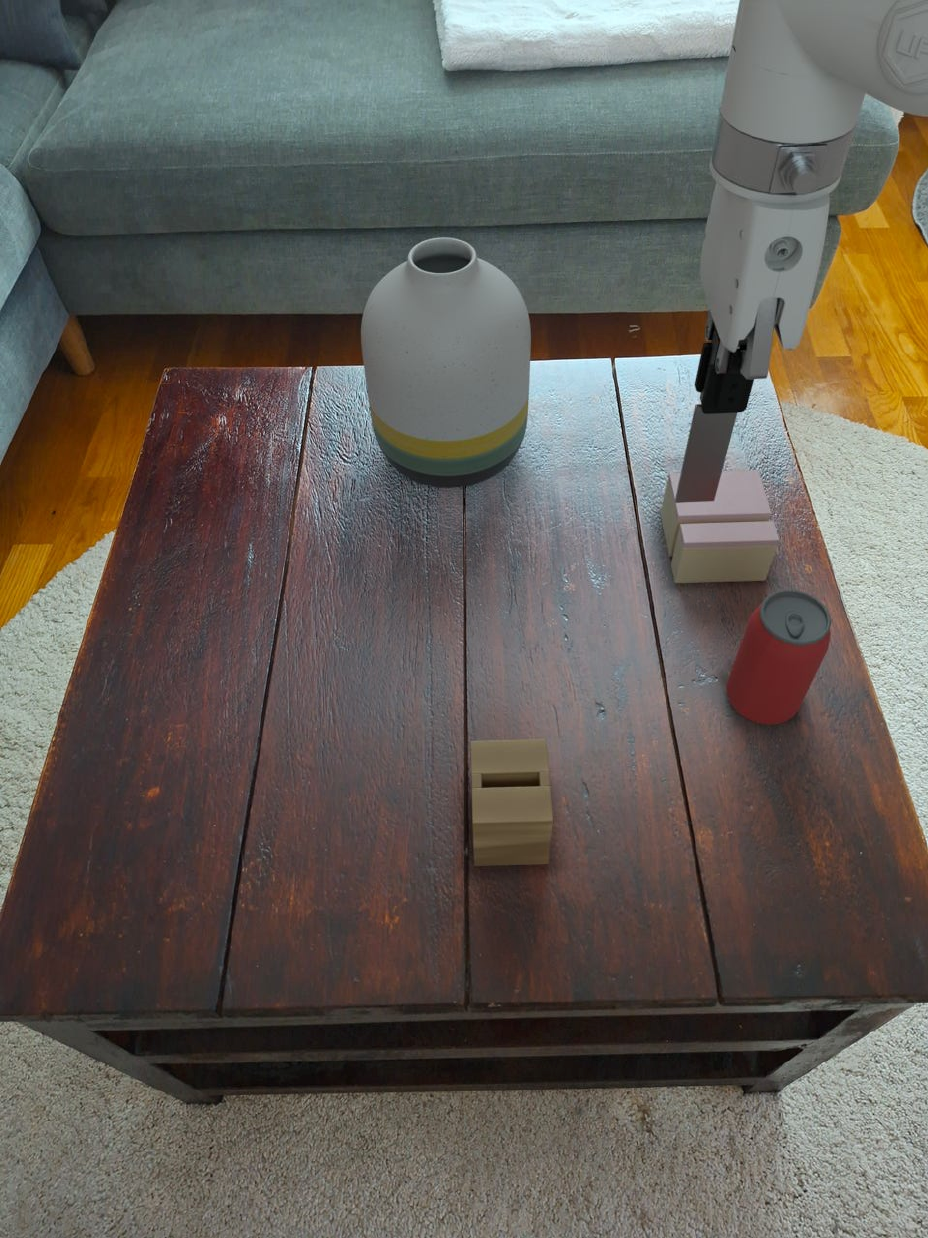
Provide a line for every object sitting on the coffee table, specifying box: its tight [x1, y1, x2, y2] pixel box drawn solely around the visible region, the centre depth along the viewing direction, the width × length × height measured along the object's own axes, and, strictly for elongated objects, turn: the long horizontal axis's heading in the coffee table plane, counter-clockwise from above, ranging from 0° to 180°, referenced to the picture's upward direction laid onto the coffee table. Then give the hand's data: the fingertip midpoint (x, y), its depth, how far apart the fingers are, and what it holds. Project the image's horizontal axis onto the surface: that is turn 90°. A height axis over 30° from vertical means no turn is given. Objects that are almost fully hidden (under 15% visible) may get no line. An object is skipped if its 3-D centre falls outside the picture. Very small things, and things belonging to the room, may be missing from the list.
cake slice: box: [670, 520, 780, 584], centre depth 91 cm, size 2×9×6 cm, turn 91°
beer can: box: [725, 589, 832, 726], centre depth 80 cm, size 7×7×12 cm
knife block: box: [469, 738, 554, 867], centre depth 74 cm, size 7×6×8 cm
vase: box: [360, 236, 532, 489], centre depth 96 cm, size 17×17×24 cm
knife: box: [675, 330, 747, 503], centre depth 70 cm, size 2×3×16 cm, turn 92°
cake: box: [660, 469, 772, 558], centre depth 94 cm, size 6×9×6 cm, turn 91°
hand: (719, 398), depth 68 cm, fingers closed on knife, 1 cm apart
